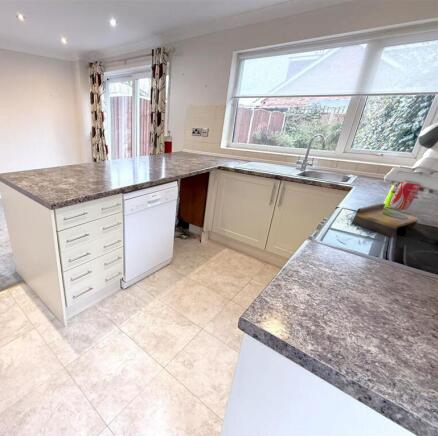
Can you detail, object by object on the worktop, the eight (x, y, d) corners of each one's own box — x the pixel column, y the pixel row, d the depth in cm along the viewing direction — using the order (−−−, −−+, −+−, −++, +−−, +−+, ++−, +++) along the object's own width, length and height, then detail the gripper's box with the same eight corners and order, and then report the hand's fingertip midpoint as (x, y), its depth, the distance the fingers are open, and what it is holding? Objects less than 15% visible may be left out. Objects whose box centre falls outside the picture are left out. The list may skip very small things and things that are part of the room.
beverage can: (386, 204, 111) (399, 179, 106) (404, 208, 108) (418, 181, 103) (390, 209, 106) (403, 182, 101) (409, 212, 103) (424, 185, 98)
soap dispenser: (397, 210, 130) (416, 173, 122) (381, 206, 135) (398, 170, 127) (400, 208, 133) (419, 172, 125) (384, 204, 138) (401, 169, 130)
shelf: (413, 228, 108) (421, 214, 106) (390, 236, 99) (398, 221, 96) (376, 216, 120) (382, 203, 117) (351, 222, 110) (358, 208, 108)
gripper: (395, 160, 111) (374, 183, 111) (462, 171, 94) (438, 198, 94) (395, 170, 114) (375, 191, 114) (459, 182, 98) (436, 207, 98)
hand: (404, 194), depth 104 cm, fingers closed on beverage can, 6 cm apart
